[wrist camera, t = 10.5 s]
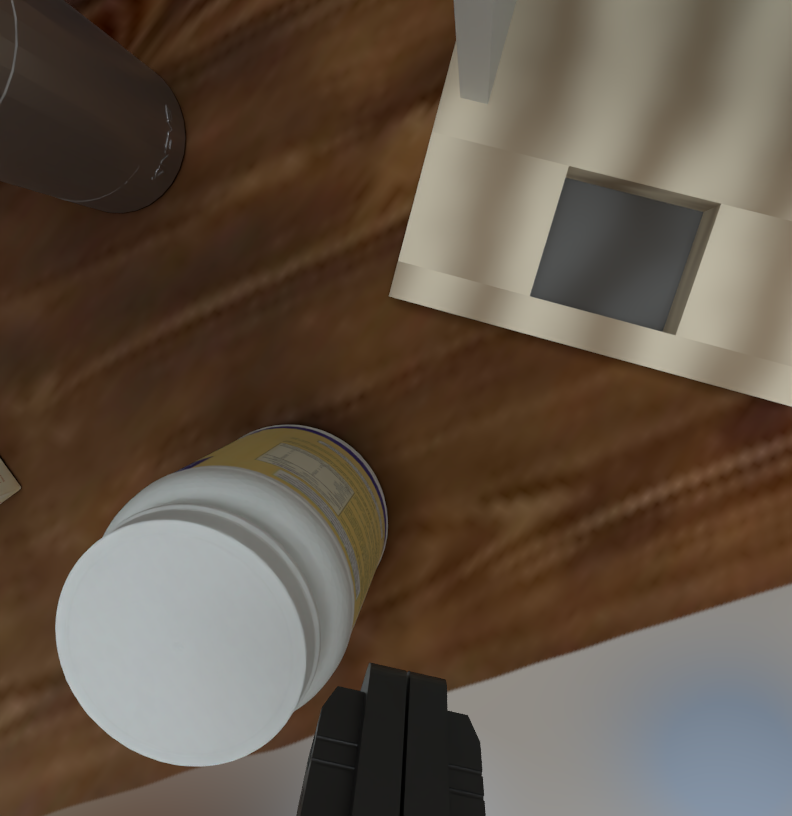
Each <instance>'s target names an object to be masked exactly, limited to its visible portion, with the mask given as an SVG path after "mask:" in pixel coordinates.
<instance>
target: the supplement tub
mask: <svg viewBox="0 0 792 816" xmlns="http://www.w3.org/2000/svg"><path fill="white" fill-rule="evenodd" d="M387 533H388V517H387V508H386V503H385V498H384V495H383V492H382V489H381V486H380V484H379V482H378V479H377V477H376V476H375V474H374V472H373V470H372V469H371V467H370V466H369V465H368V463H367V462H366V461H365V460H364V459H363V458H362V456H361V455H360V454H359V453H358V452H357V451H356V450H354V449H353V448H352V447H351V446H350V445H348V444H347V443H346V442H344V441H343V440H341V439H339V438H338V437H336V436H334V435H332V434H330V433H327V432H325V431H323V430H320V429H316V428H313V427H308V426H302V425H275V426H270V427H265V428H261V429H258V430H256V431H253V432H250V433H248V434H246V435H244V436H243V437H241V438H239V439H238V440H236V441H234V442H232V443H230V444H228V445H226V446H224V447H223V448H221V449H218V450H217V451H215V452H213V453H211V454H209V455H207V456H205V457H203V458H201V459H199V460H197V461H196V462H194V463H192V464H190V465H188V466H186V467H184V468H182V469H180V470H178V471H176V472H174V473H172V474H170V475H167V476H165V477H163V478H161V479H159V480H157V481H155V482H153V483H152V484H150V485H149V486H147V487H146V488H144V489H143V490H142V491H140V492H139V493H138V494H137V495H136V496H135V497H134V498H132V499H131V500H130V501H129V502H128V503H127V504H126V505H125V506H124V507H123V508H122V509H121V510H120V511H119V513H118V514H117V515H116V516H115V518H114V519H113V521H112V522H111V524H110V525H109V527H108V528H107V530H106V532H105V534H104V536H103V538H101V539H100V540H98V541H97V542H96V543H95V544H94V545H92V546H91V547H90V548H89V549H88V550H87V551H86V552H85V553H84V554H83V555H82V556H81V557H80V559H79V560H78V561H77V563H76V564H75V566H74V567H73V569H72V570H71V572H70V573H69V575H68V577H67V580H66V582H65V584H64V586H63V589H62V592H61V595H60V598H59V602H58V607H57V613H56V627H55V630H56V643H57V650H58V654H59V659H60V663H61V666H62V669H63V672H64V675H65V678H66V680H67V682H68V684H69V686H70V688H71V690H72V692H73V694H74V695H75V697H76V698H77V700H78V701H79V703H80V704H81V706H82V707H83V709H84V710H85V711H86V713H87V714H88V715H89V716H90V717H91V718H92V719H93V720H94V721H95V722H96V723H97V724H98V725H99V726H100V727H101V728H102V729H103V730H104V731H105V732H106V733H108V734H109V735H110V736H111V737H113V738H114V739H115V740H117V741H118V742H120V743H121V744H123V745H124V746H126V747H128V748H129V749H131V750H133V751H135V752H137V753H140V754H142V755H144V756H147V757H149V758H152V759H155V760H157V761H160V762H165V763H169V764H174V765H180V766H212V765H218V764H223V763H227V762H231V761H234V760H236V759H239V758H242V757H244V756H247V755H248V754H250V753H252V752H254V751H255V750H257V749H259V748H261V747H262V746H263V745H265V744H266V743H267V742H269V741H270V740H271V739H272V738H273V737H274V736H275V735H277V733H278V732H279V731H280V730H281V729H282V728H283V726H284V725H285V724H286V723H287V721H288V719H289V718H290V716H291V715H292V713H293V712H294V711H295V710H297V709H298V708H300V707H301V706H303V705H304V704H305V703H307V702H308V701H309V700H310V699H311V698H312V697H313V696H314V695H315V694H316V693H318V691H319V690H320V689H321V688H322V687H323V686H324V685H325V684H326V682H327V681H328V680H329V678H330V677H331V675H332V674H333V672H334V671H335V670H336V668H337V666H338V665H339V663H340V661H341V659H342V657H343V655H344V653H345V650H346V648H347V645H348V642H349V638H350V635H351V632H352V630H353V627H354V625H355V622H356V620H357V617H358V615H359V612H360V609H361V607H362V604H363V602H364V599H365V597H366V594H367V591H368V589H369V586H370V584H371V581H372V579H373V576H374V573H375V571H376V568H377V566H378V565H379V562H380V560H381V558H382V555H383V552H384V549H385V545H386V540H387Z"/></svg>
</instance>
